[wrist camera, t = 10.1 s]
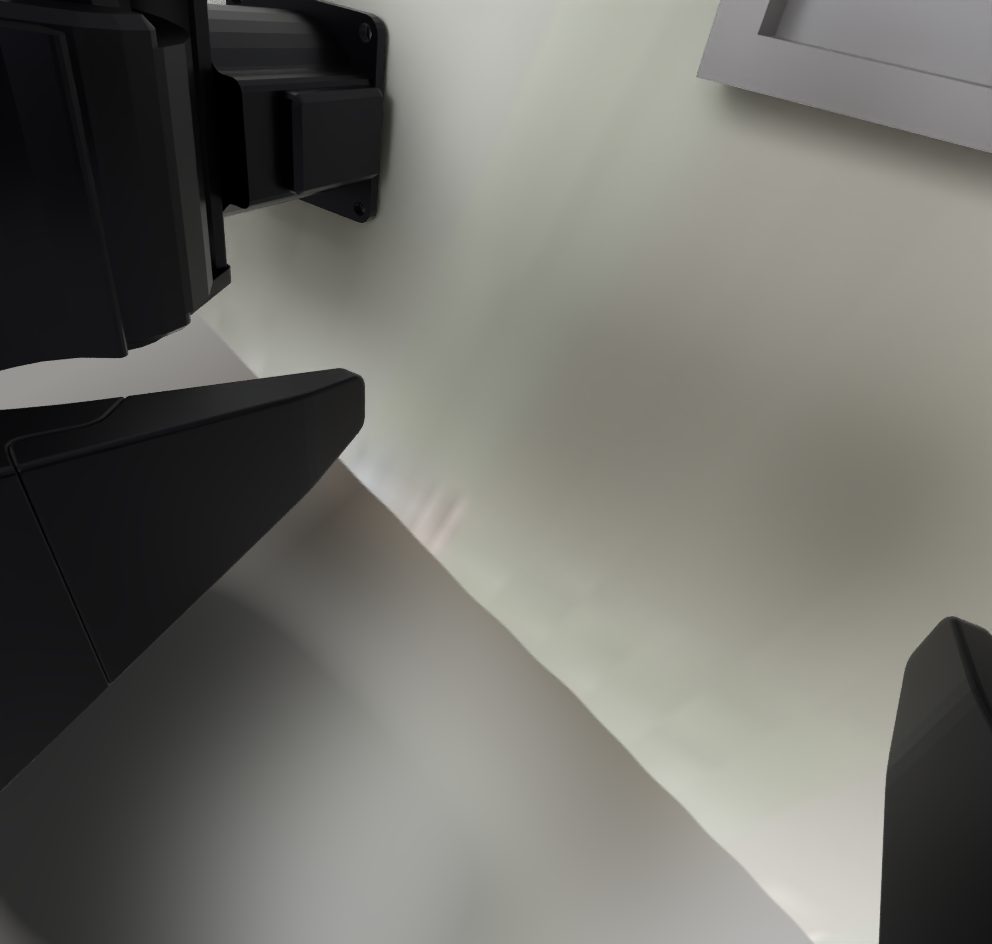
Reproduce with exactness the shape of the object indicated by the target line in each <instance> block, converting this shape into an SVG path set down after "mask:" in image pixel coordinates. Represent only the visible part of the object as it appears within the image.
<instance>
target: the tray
mask: <svg viewBox="0 0 992 944" xmlns="http://www.w3.org/2000/svg"><path fill="white" fill-rule="evenodd" d="M696 77H699V78H703V79H707V80H711V81H714V82H718V83H722V84H726V85H730V86H734V87H738V88H741V89H745V90H749V91H753V92H757V93H761V94H765V95H769V96H772V97H776V98H780V99H784V100H788V101H792V102H796V103H799V104H803V105H807V106H811V107H815V108H819V109H823V110H827V111H830V112H834V113H838V114H842V115H846V116H850V117H854V118H857V119H861V120H865V121H869V122H873V123H877V124H881V125H885V126H888V127H892V128H896V129H900V130H904V131H908V132H912V133H915V134H919V135H923V136H927V137H931V138H935V139H939V140H943V141H946V142H950V143H954V144H958V145H962V146H966V147H970V148H973V149H977V150H981V151H985V152H989V153H992V0H721V1H720V4H719V7H718V10H717V13H716V16H715V19H714V22H713V26H712V29H711V32H710V35H709V38H708V41H707V44H706V47H705V51H704V54H703V57H702V60H701V63H700V66H699V69H698V72H697V76H696Z"/></svg>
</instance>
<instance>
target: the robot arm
mask: <svg viewBox="0 0 992 944" xmlns="http://www.w3.org/2000/svg"><path fill="white" fill-rule="evenodd" d="M368 25H369V27H370V29H371V34H372V35H371V39H370V40H369V39H368V37H367V33H366V30H367V26H368ZM384 53H385V29H384V26H383V23H382V21H381V20H380V19H379V17H377V16H376V15H374V14H371V13H367V12H363V11H359V10H356V9H352V8H348V7H345V6H341V5H337V4H334V3H330V2H326V1H322V0H242V2H241V0H226V5H220V4H207V0H0V371H1V370H5V369H8V368H13V367H17V366H22V365H27V364H32V363H36V362H42V361H51V360H61V359H70V358H123V357H125V356H127V355H128V350H131V349H136V348H140V347H143V346H146V345H149V344H151V343H154V342H156V341H158V340H159V339H161V338H162V337H165V336H167V335H170V334H172V333H174V332H177V331H179V330H181V329H183V328H184V327H185V326H187V325H188V324H189V323H190V321H191V319H190V315H192V314H193V313H194V312H195V311H197V310H198V309H199V308H200V307H201V306H203V305H204V304H205V303H206V302H208V301H209V300H210V299H211V298H213V297H214V296H215V295H216V294H218V293H219V292H220V291H221V290H222V289H224V288H225V287H226V286H227V285H229V284H230V283H231V271H230V265H228V264H227V260H226V246H225V233H224V220H223V217H227V216H231V215H235V214H239V213H243V212H247V211H251V210H255V209H259V208H263V207H267V206H271V205H275V204H279V203H283V202H287V201H291V200H295V199H300V200H302V201H305V202H308V203H310V204H313V205H315V206H318V207H320V208H323V209H326V210H328V211H331V212H333V213H336V214H339V215H341V216H344V217H346V218H349V219H352V220H354V221H357V222H360V223H364V222H367V221H370V220H372V219H373V218H374V217H375V216H376V211H377V192H378V173H379V168H380V149H381V129H382V109H383V97H382V93H383V73H384ZM361 203H362V204H363V206H364V209H365V212H363V211H362V209H361V206H360V204H361ZM364 419H365V383H364V380H363V378H362V377H361V376H360V375H358V374H356V373H353V372H351V371H348V370H346V369H342V368H337V369H329V370H321V371H314V372H306V373H299V374H291V375H284V376H276V377H269V378H261V379H254V380H247V381H238V382H231V383H224V384H216V385H209V386H201V387H193V388H186V389H178V390H171V391H163V392H155V393H148V394H141V395H133V396H128V397H126V398H123V397H117V398H110V399H102V400H94V401H86V402H78V403H69V404H61V405H52V406H51V405H50V406H40V407H29V408H19V409H6V410H0V792H1V791H2V790H3V789H4V788H5V787H6V786H7V785H8V784H9V783H11V782H12V780H14V779H15V778H16V777H17V776H18V775H19V774H20V773H21V772H22V771H23V770H24V769H25V768H26V767H27V766H28V765H29V764H30V763H31V762H32V761H33V760H34V759H35V758H36V757H37V756H38V755H39V754H40V753H41V752H42V751H43V750H44V749H45V748H47V747H48V746H49V745H50V744H51V742H52V741H54V740H55V739H56V738H57V737H58V736H59V735H60V734H61V733H62V732H63V731H64V730H65V729H66V728H67V727H68V726H69V725H70V724H71V723H72V722H73V721H74V720H75V719H76V718H77V717H78V716H79V715H80V714H81V713H82V712H84V711H85V710H86V709H87V708H88V707H89V706H90V705H91V704H92V703H93V702H94V701H95V700H96V699H97V698H98V697H99V696H100V695H101V694H102V693H103V692H104V691H105V690H106V689H107V688H108V687H109V683H113V682H114V681H115V680H116V679H117V678H118V677H119V676H120V675H121V674H122V673H123V672H124V671H125V670H126V669H127V668H128V667H129V666H130V665H132V663H134V662H135V661H136V660H137V659H138V658H139V657H140V656H141V655H142V654H143V653H144V652H145V651H146V650H147V649H148V648H149V647H150V646H151V645H152V644H153V643H154V642H155V641H156V640H157V639H158V638H159V637H160V636H161V635H162V634H163V633H164V632H166V631H167V629H169V628H170V627H171V626H172V625H173V623H175V622H176V621H177V620H178V619H179V618H180V617H181V616H182V615H183V614H184V613H185V612H186V611H187V610H188V609H189V608H190V607H191V606H192V605H193V604H194V603H195V602H196V601H197V600H198V599H200V598H201V597H202V596H203V595H204V594H205V593H206V592H207V591H208V590H209V589H210V588H211V587H212V586H213V585H214V584H215V583H216V582H217V581H218V580H219V579H220V578H221V577H222V576H223V575H224V574H225V573H226V572H227V571H228V570H229V569H230V568H231V567H232V566H233V565H234V564H236V563H237V561H239V560H240V559H241V557H243V556H244V555H245V554H246V553H247V552H248V551H249V550H250V549H251V548H252V547H253V546H254V545H255V544H256V543H257V542H258V541H259V540H260V539H261V538H262V537H263V536H264V535H265V534H266V533H267V532H268V531H270V530H271V528H273V527H274V526H275V524H277V523H278V522H279V521H280V520H281V519H282V518H283V517H284V516H285V515H286V514H287V513H288V512H289V511H290V510H291V509H292V508H293V507H294V506H295V505H296V504H297V503H298V502H299V501H300V500H301V499H302V498H303V497H304V496H305V495H306V494H307V493H308V492H309V491H310V490H311V489H312V488H313V486H314V485H315V484H316V483H317V482H318V481H319V480H320V479H321V477H322V476H323V475H324V474H325V473H326V471H327V470H328V469H329V468H330V467H331V465H332V464H333V463H334V462H335V460H336V459H337V458H338V457H339V456H340V454H341V453H342V452H343V451H344V450H345V448H346V447H347V446H348V445H349V444H350V442H351V441H352V440H353V439H354V438H355V436H356V435H357V434H358V433H359V431H360V430H361V428H362V426H363V423H364ZM879 944H992V635H991V634H990V633H989V632H988V631H987V630H986V629H984V628H982V627H980V626H977V625H975V624H972V623H970V622H967V621H965V620H962V619H960V618H958V617H955V616H951V617H946V618H945V619H943V620H942V621H941V622H939V624H938V625H937V626H936V627H935V628H934V629H933V630H932V632H931V633H930V634H929V635H928V636H927V637H926V638H925V639H924V641H923V642H922V643H921V644H920V645H919V646H918V647H917V649H916V650H915V651H914V652H913V653H912V655H911V656H910V658H909V660H908V662H907V665H906V668H905V672H904V677H903V683H902V688H901V693H900V699H899V704H898V710H897V715H896V720H895V726H894V731H893V737H892V742H891V747H890V753H889V759H888V766H887V773H886V786H885V807H884V831H883V856H882V880H881V904H880V928H879Z"/></svg>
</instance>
